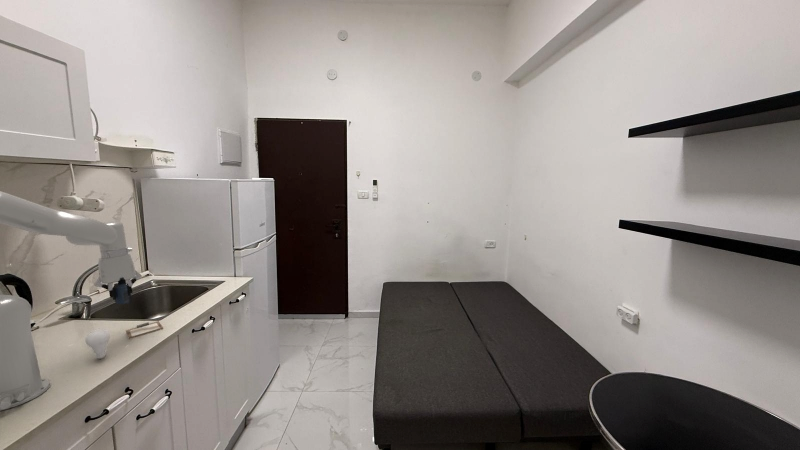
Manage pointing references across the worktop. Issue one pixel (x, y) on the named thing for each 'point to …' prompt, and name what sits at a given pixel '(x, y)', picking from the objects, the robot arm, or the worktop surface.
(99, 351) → the lightbulb
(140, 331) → the clipboard
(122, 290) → the vaping device
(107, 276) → the robot arm
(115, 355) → the worktop surface
